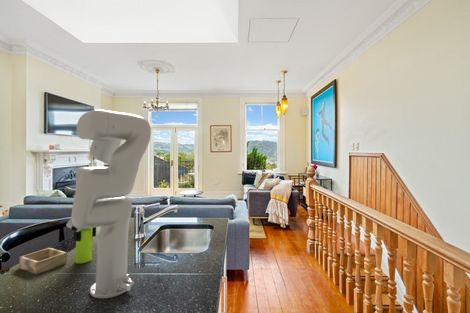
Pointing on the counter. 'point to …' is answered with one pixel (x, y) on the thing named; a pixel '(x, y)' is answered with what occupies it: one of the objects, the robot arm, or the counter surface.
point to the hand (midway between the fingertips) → (85, 237)
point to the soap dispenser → (84, 246)
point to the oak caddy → (42, 260)
